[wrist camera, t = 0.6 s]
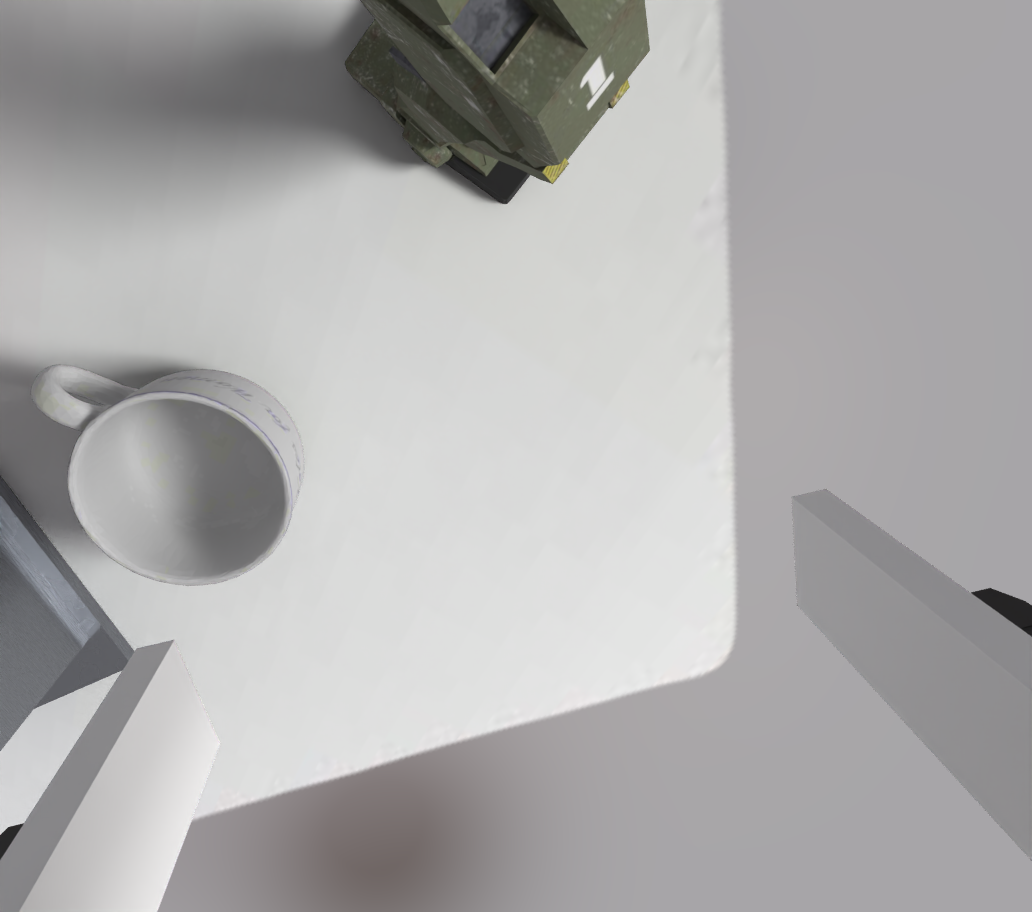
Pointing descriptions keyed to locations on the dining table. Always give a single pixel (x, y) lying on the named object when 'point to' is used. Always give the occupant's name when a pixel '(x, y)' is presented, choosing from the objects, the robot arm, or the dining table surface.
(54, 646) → the stand
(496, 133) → the mechanical leg
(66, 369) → the teacup
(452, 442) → the dining table surface
